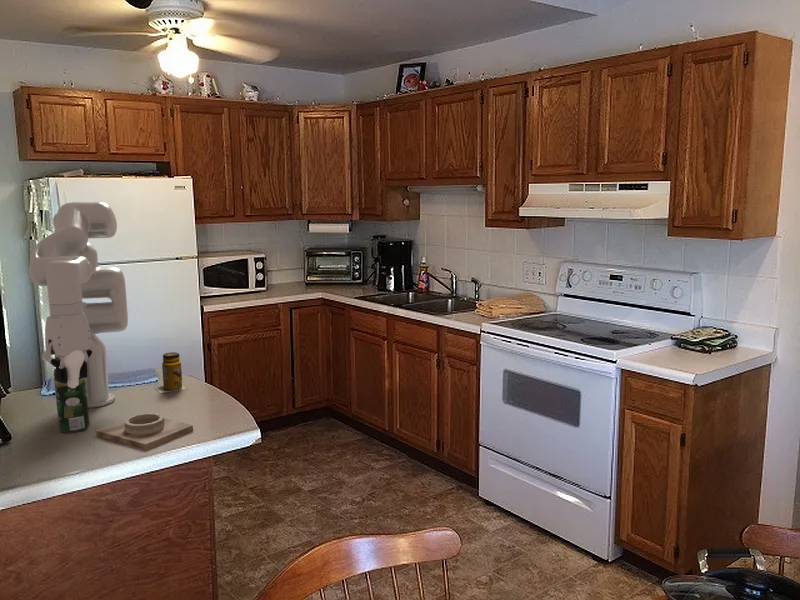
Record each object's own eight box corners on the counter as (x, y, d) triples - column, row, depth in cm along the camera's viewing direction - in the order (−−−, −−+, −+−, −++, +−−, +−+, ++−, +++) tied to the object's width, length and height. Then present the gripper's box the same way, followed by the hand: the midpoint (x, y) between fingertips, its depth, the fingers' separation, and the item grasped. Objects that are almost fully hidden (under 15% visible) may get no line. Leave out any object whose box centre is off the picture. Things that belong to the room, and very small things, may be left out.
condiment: (186, 389, 226) (184, 354, 223) (160, 393, 221) (157, 358, 219) (180, 384, 232) (177, 350, 229) (154, 388, 227) (152, 353, 225)
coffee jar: (59, 424, 193) (53, 361, 190) (89, 420, 196) (84, 358, 193) (58, 435, 184) (52, 370, 181) (89, 431, 188) (84, 366, 185)
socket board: (96, 435, 184) (95, 421, 184) (144, 418, 198) (143, 405, 197) (146, 449, 174) (145, 435, 174) (193, 430, 188) (192, 416, 187)
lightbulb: (54, 391, 169) (51, 348, 167) (70, 383, 175) (67, 342, 173) (76, 392, 168) (73, 349, 166) (91, 385, 174) (88, 343, 172)
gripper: (87, 302, 177) (92, 369, 180) (24, 313, 162) (31, 386, 166) (105, 305, 173) (111, 373, 176) (43, 317, 159) (50, 391, 162)
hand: (72, 378), depth 171 cm, fingers closed on lightbulb, 4 cm apart
